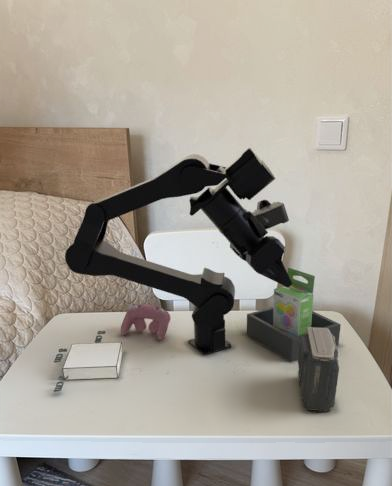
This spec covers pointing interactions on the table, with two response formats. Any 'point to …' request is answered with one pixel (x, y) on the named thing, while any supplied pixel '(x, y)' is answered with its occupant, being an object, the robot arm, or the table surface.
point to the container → (91, 361)
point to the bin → (280, 341)
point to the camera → (318, 368)
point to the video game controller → (146, 312)
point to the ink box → (294, 304)
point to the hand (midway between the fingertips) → (282, 279)
